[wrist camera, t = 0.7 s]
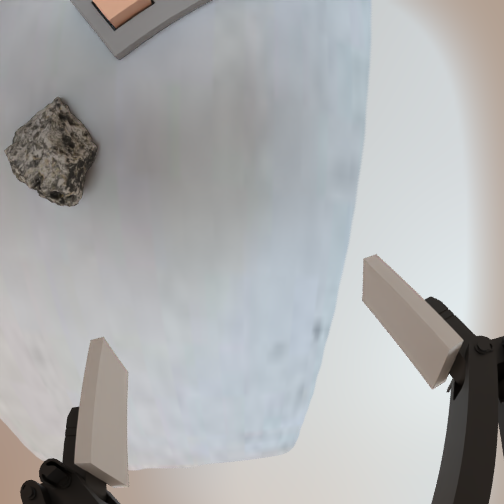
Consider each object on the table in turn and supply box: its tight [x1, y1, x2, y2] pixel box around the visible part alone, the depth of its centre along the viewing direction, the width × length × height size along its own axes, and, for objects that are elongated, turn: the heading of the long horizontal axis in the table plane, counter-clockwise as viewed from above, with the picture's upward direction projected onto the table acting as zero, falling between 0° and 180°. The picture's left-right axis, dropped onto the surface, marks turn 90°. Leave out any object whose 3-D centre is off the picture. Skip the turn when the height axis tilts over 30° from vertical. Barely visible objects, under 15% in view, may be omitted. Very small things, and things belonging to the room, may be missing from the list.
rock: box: [4, 97, 97, 207], centre depth 28 cm, size 13×10×10 cm
